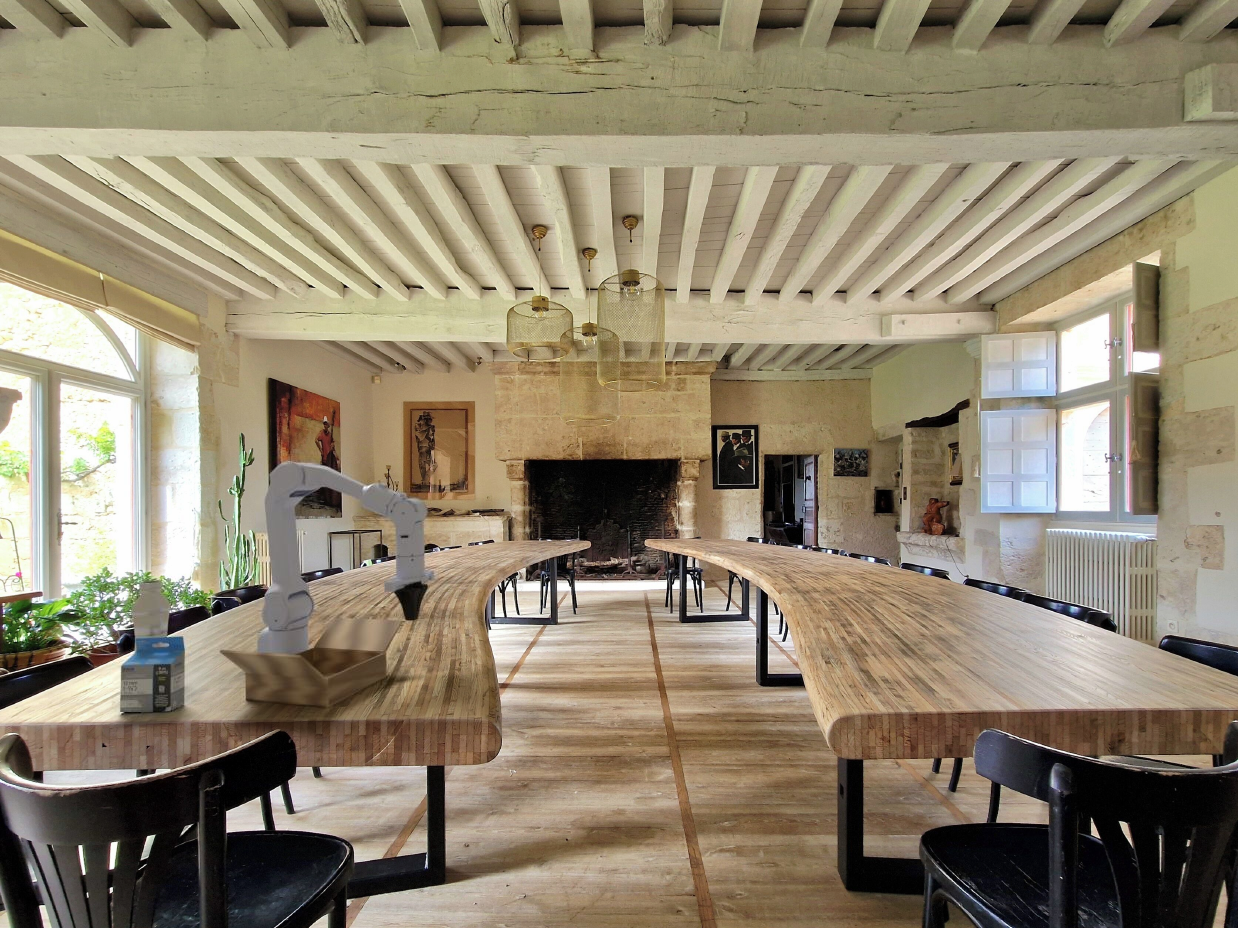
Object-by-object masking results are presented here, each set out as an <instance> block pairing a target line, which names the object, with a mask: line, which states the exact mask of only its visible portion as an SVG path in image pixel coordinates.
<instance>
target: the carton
mask: <svg viewBox="0 0 1238 928" xmlns="http://www.w3.org/2000/svg"><path fill="white" fill-rule="evenodd" d="M295 655H301V656H302V657H303V658H305V659H306V660H307V661H308V662H309V663H310V664H311V665H312V666H313V667H315V668H316V669H317V670H318V671H319V672H320V673H321V674H322V675H323V676H325V679H312V678H299V677H287V676H274V675H262V674H250V673H246V672H245V678H244V679H245V680H244V682H245V701H250V702H251V701H253V702H260V703H261V702H263V703H270V704H271V703H274V704H282V705H292V706H305V707H313V708H315V707H316V708H323V709H324V708H326V709H328V708H330V707H333V705H336V704H337V703H340V702H342V701H343V700H346V699H348V698H350V697H352V696H353V695H355V694H358V693H359V692H361V691H364V690H365V689H367V688H369V687H372V686H373V685H375V684H377V683H379V682H381V681H384V680H385V679H387V678H388V676H387V675H388V674H387V673H388V672H387V670H388V669H387V665H388V664H387V652H369V651H353V650H337V649H322V648H314V647H312V648H309V649H308V650H306V651H303V652H300V653H297V654H295Z"/></svg>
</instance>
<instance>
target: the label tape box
mask: <svg viewBox="0 0 1238 928" xmlns="http://www.w3.org/2000/svg"><path fill="white" fill-rule="evenodd" d="M159 642H162V643H163V644H164V643H167V644H168V646H167V647H153V646H152V645H153V644H158V643H159ZM136 650H137V651H136V652H135V653H134V652H133V654H132V655H131V656H130V657H129V658H128V659H127V660H126V661H124V662H123V663H122V664H121V666H120V695H119V696H120V700H119V701H120V702H119V705H120V706H119V713H120V712H141V713H154V712H153V711H162V712H172V711H175V710H176V708H177V709H179V708H180V707H179V706H181V707H182V706H184V705H185V696H186V695H185V692H186V691H185V690H186V689H185V688H186V687H185V685H186V684H185V681H186V679H185V678H186V677H185V676H186V675H185V671H186V670H185V669H186V668H185V667H186V666H185V660H186V657H185V656H186V651H185V650H186V649H185V641H184V636H179V635H178V636H167V637H152V638H136ZM178 707H179V708H178ZM174 709H175V710H174ZM171 710H172V711H171Z"/></svg>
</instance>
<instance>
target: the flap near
mask: <svg viewBox="0 0 1238 928" xmlns="http://www.w3.org/2000/svg"><path fill="white" fill-rule="evenodd" d="M219 653H220V654H222V656H224V657H225V658H226V659H228V661H230V662H231V663H233V664H234V665H236V667H238V668H239V669H241V670H242V671H243V672H246V673H250V674H262V675H274V676H287V677H299V678H312V679H325V676H323V675H322V674H321V673H320V672H319V671H318V670H317V669H316V668H315V667H313V666H312V665H311V664H310V663H309V662H308V661H307V660H306V659H305V658H303V657H302V656H301V655H289V654H275V653H260V652H258V651H243V650H229V649H228V650H227V649H220V651H219Z"/></svg>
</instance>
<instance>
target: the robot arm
mask: <svg viewBox="0 0 1238 928" xmlns="http://www.w3.org/2000/svg"><path fill="white" fill-rule="evenodd" d="M269 481H270V482H269V486H268V489H267V491H266V494H265V497H264V511H265V520H266V523H265V524H266V531H267V542H268V543H267V544H268V553H269V563H270V573H271V581H272V582H271V585H270V586H269V588H268V589H267V591H266V592H265V594H264V605H263V607H262V611H261V618H262V622H263V623H264V624H265V626H266V627H265V628H264V629H262V631H261V632H260V633H259V635H258V638H257V652H260V653H275V654H289V655H295V654H297V653H300V652H303V651H306V650H308V649H310V647H309V642H310V641H309V640H310V639H309V622H310V617H311V616H312V615H313V613H314V611H315V607H316V606H315V605H316V604H315V600H314V598H313V596H312V594H311V593H310V592H311V591H310V587H309V584H308V583H307V582H305V580H304V579H302V571H301V562H300V552H299V550H300V549H299V541H298V531H297V522H296V521H297V520H296V519H297V518H296V511H295V509H296V508H295V507H296V505H298V504H299V503H300V502H301V501H302V500H303V499H304V498H305V497H306V496H309V494H312V493H314V492H316V491H318V490H320V488H329V489H331V490H334V491H336V492H339V493H342V494H344V495H348V496H350V497H352V498H355V499H357V500H359V502H360V504H361V506H362V508H364V509H366V510H369V511H371V512H372V513H376V514H378V515H380V516H382V517H385V518H387V519H389V520H391V522H392V523H393V524H394V526H395V573H396V576H395V577H393V578H392V579H390V580H387V581H384V586H383V587H384V592H387V593H389V592H390V593H391V592H392V593H393V594H394V595H395V596H396V598H397V600H398V602H399V603H400V606H401V609H402V612H403V616H404V620H405V621H410V622H414V621H416V620H418V619H419V613H420V609H421V606H422V602H423V599H424V597H425V594H426V592H427V591H428V589H429V587H428V584H427V583H423V582H428V581H433V580H435V570H426V569H425V565H426V564H425V530H424V527H425V525H424V521H425V520H426V518H427V517H428V511H429V510H428V507H427V505H426V503H425V502H424V501H422V499H420V498H419V497H409V498H408V494H407V493H405V492H401V493H399V492H398V491H395V490H393V489H390V488H388V484H386V483H384V482H379V483H376V482H374V483H372V484H368V485H367V484H364V483H362V482H360V481H358V480H356V479H354V478H351V477H350V476H347V475H346V474H344V473H341V472H340V471H337V470H336V469H333V468H331V467H329V466H326V465H320V463H319V464H318V463H317V462H294V461H283V462H281V463H280V464H278V465H277V466H276V467H275V468H274V469H273V470H272V471H271V472H270V473H269Z"/></svg>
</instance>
